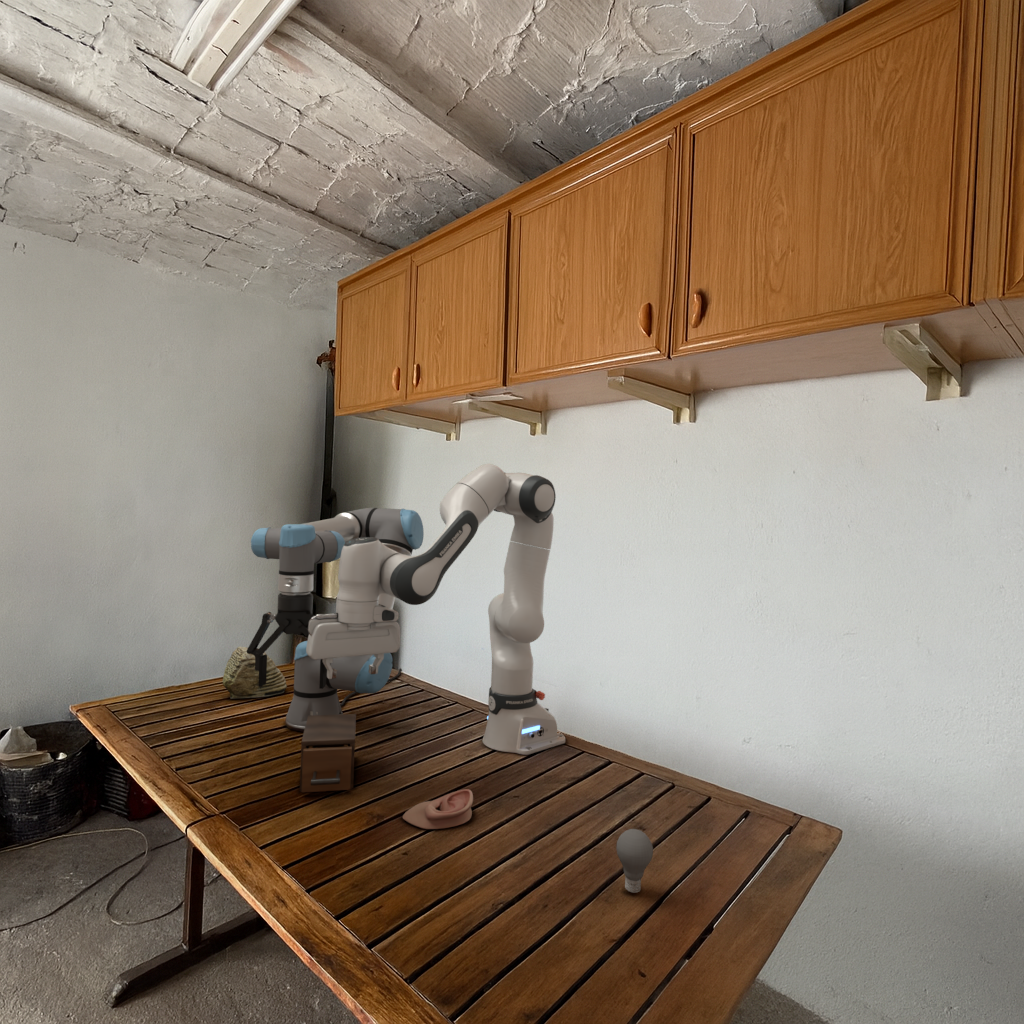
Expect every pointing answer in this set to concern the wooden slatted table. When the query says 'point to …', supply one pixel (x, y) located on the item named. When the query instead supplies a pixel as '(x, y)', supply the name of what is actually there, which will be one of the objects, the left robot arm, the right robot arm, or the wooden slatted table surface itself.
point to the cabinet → (329, 734)
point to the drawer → (326, 768)
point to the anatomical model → (442, 811)
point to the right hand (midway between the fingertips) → (352, 675)
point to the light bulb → (634, 857)
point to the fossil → (251, 676)
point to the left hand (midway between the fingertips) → (292, 685)
